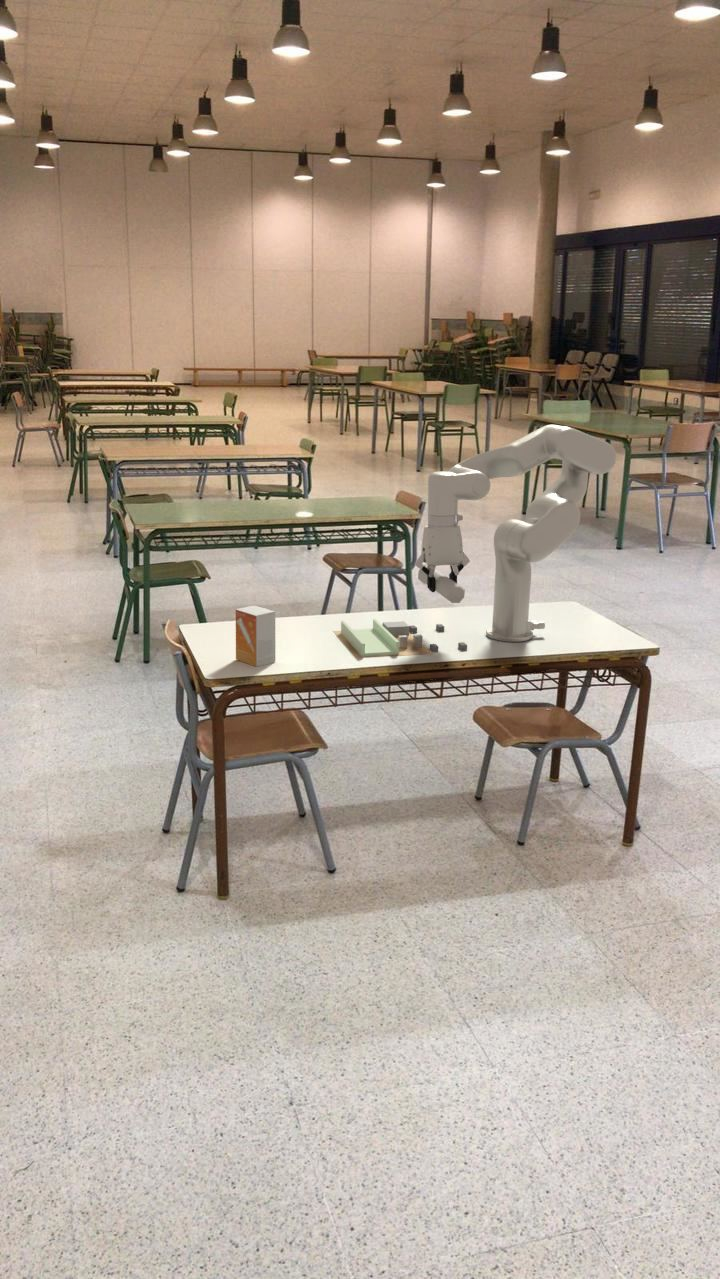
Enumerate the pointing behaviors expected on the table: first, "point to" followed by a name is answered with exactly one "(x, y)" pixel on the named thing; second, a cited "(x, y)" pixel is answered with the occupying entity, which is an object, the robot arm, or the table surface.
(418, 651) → the board
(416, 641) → the bench dogs
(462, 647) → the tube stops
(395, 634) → the grey faceted block
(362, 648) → the tray
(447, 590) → the tube
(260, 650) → the small box
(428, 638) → the table surface
